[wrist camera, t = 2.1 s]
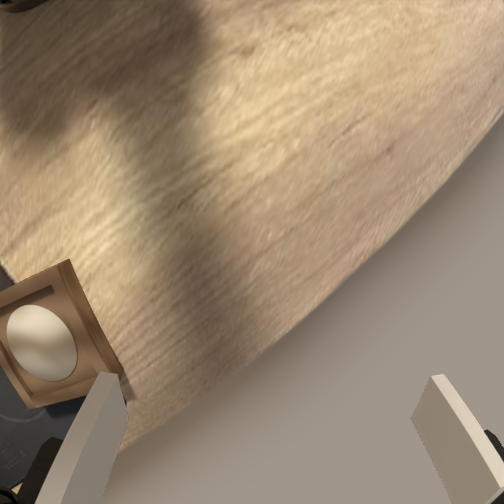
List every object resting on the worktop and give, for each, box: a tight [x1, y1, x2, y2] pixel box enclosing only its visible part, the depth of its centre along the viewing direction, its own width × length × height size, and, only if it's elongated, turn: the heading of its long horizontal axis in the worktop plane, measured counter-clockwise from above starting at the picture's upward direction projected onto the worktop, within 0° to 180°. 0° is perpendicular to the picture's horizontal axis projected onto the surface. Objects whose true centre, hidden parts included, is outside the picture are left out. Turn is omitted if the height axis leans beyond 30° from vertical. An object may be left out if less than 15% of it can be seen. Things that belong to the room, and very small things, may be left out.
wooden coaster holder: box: [0, 259, 123, 409], centre depth 31 cm, size 15×15×4 cm
